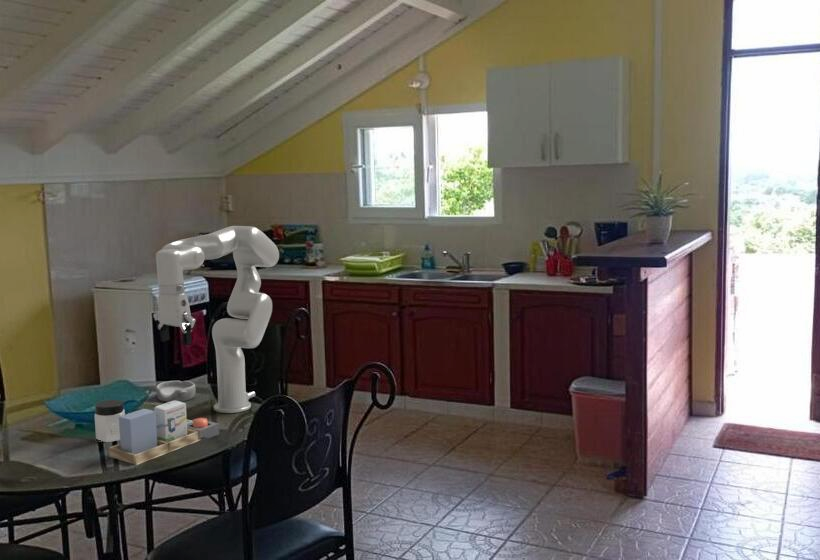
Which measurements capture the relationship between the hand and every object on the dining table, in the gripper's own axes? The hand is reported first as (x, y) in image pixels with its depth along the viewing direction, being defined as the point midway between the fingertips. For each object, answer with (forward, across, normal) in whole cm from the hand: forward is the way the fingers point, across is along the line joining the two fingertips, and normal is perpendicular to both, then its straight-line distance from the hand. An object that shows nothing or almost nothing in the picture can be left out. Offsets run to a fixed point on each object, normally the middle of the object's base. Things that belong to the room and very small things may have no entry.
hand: (176, 342), depth 261 cm
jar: (+29, +12, +18) cm, 36 cm away
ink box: (+28, -7, +12) cm, 31 cm away
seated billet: (+27, -6, +23) cm, 36 cm away
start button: (+28, -8, 0) cm, 29 cm away
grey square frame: (+29, -8, 0) cm, 30 cm away
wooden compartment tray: (+28, -7, +17) cm, 34 cm away
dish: (+31, +30, -25) cm, 50 cm away
